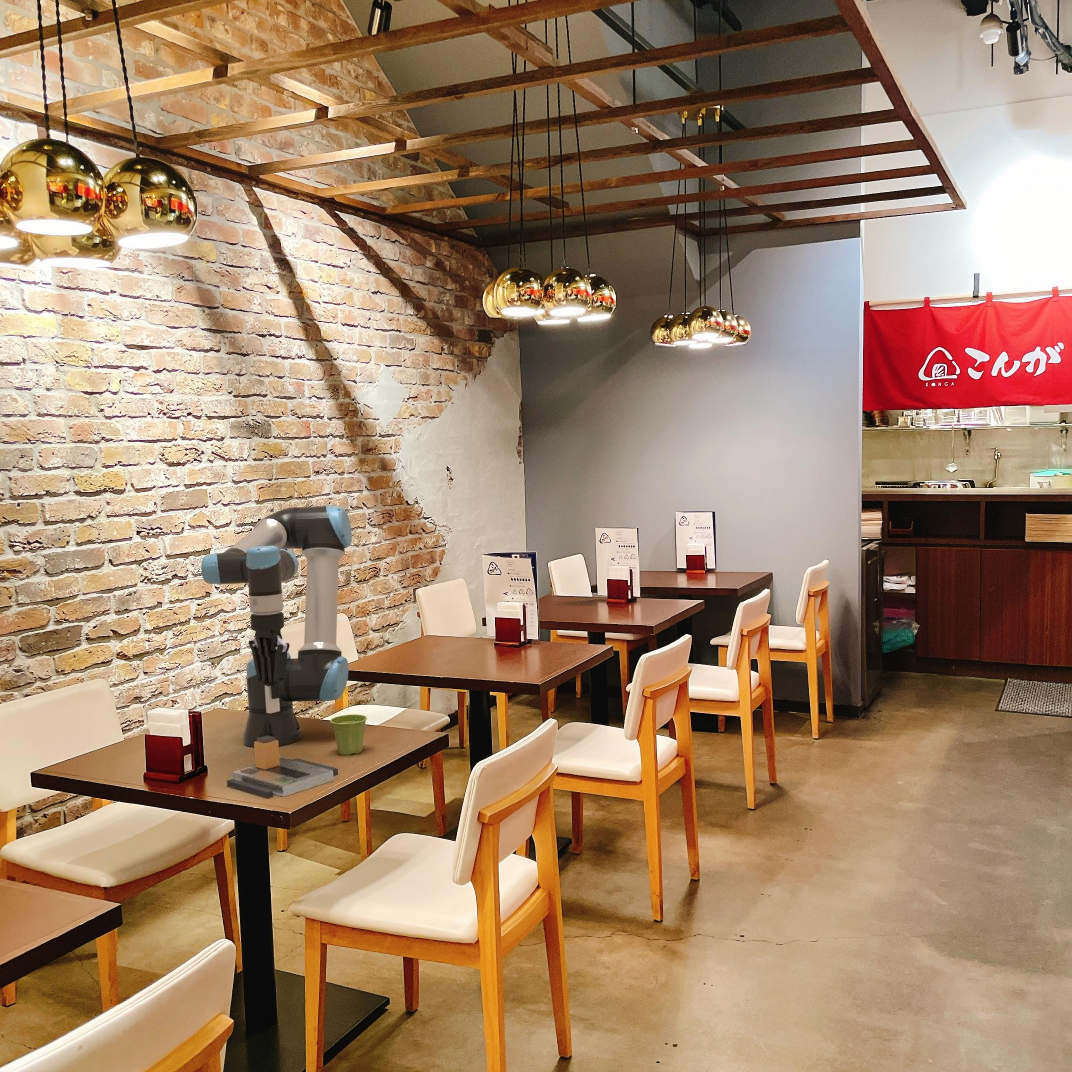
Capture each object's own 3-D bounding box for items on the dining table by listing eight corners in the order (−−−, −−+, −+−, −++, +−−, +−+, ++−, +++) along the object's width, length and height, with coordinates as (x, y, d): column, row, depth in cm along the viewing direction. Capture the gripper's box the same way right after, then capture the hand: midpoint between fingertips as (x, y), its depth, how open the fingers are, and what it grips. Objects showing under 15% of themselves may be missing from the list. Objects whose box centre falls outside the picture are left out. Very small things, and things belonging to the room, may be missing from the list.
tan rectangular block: (255, 766, 238) (253, 738, 238) (269, 762, 241) (268, 734, 241) (265, 769, 235) (263, 740, 235) (279, 765, 238) (278, 737, 238)
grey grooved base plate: (224, 785, 233) (224, 779, 233) (297, 763, 249) (297, 758, 249) (267, 798, 222) (267, 792, 222) (340, 774, 238) (340, 769, 238)
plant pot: (374, 747, 261) (373, 714, 260) (359, 757, 252) (357, 723, 251) (342, 746, 263) (340, 713, 263) (325, 756, 254) (323, 722, 254)
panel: (232, 781, 236) (231, 771, 236) (282, 766, 246) (281, 756, 246) (283, 796, 223) (282, 785, 223) (333, 780, 233) (333, 769, 233)
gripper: (236, 613, 235) (243, 711, 237) (270, 616, 227) (276, 719, 228) (263, 608, 241) (269, 705, 242) (297, 611, 232) (303, 711, 234)
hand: (273, 711), depth 235 cm, fingers closed
